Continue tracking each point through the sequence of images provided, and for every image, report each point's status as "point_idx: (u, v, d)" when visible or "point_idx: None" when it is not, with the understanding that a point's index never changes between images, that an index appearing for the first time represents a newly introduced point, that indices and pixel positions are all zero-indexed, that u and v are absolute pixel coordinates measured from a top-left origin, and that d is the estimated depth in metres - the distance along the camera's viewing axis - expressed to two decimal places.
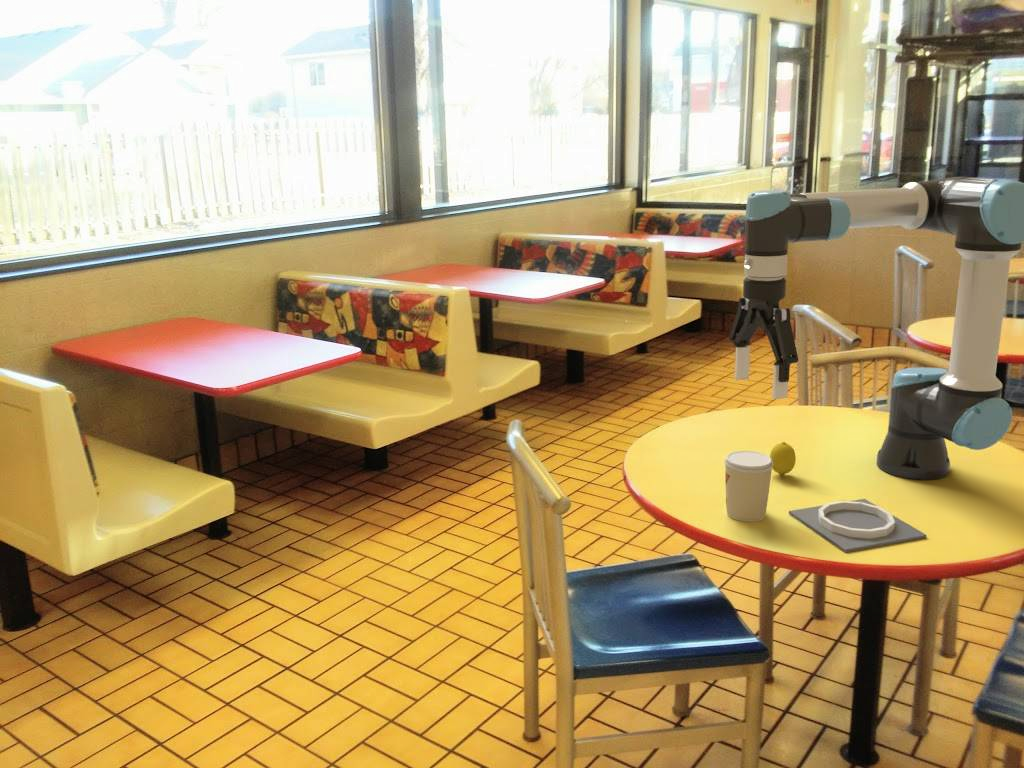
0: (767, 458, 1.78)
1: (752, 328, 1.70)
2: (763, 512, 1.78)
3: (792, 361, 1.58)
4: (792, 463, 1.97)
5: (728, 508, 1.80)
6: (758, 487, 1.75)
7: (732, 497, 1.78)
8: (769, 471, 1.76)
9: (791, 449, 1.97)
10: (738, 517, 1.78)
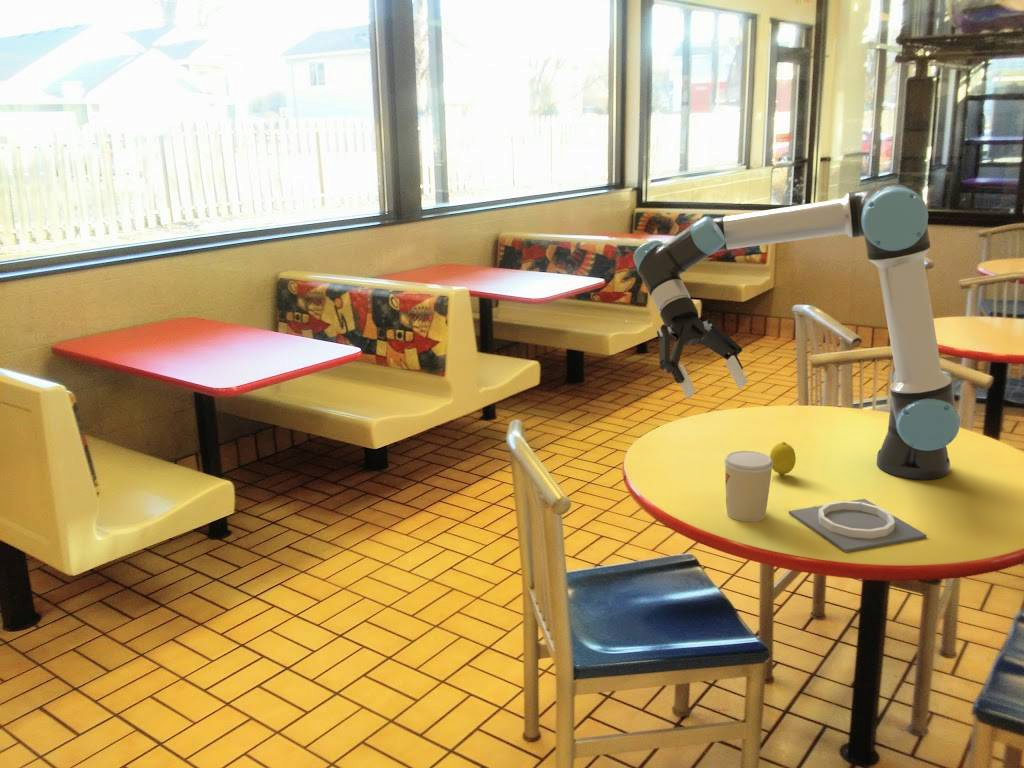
0: (767, 458, 1.78)
1: (710, 343, 1.89)
2: (763, 512, 1.78)
3: (663, 365, 1.82)
4: (792, 463, 1.97)
5: (728, 508, 1.80)
6: (758, 487, 1.75)
7: (732, 497, 1.78)
8: (769, 471, 1.76)
9: (791, 449, 1.97)
10: (738, 517, 1.78)
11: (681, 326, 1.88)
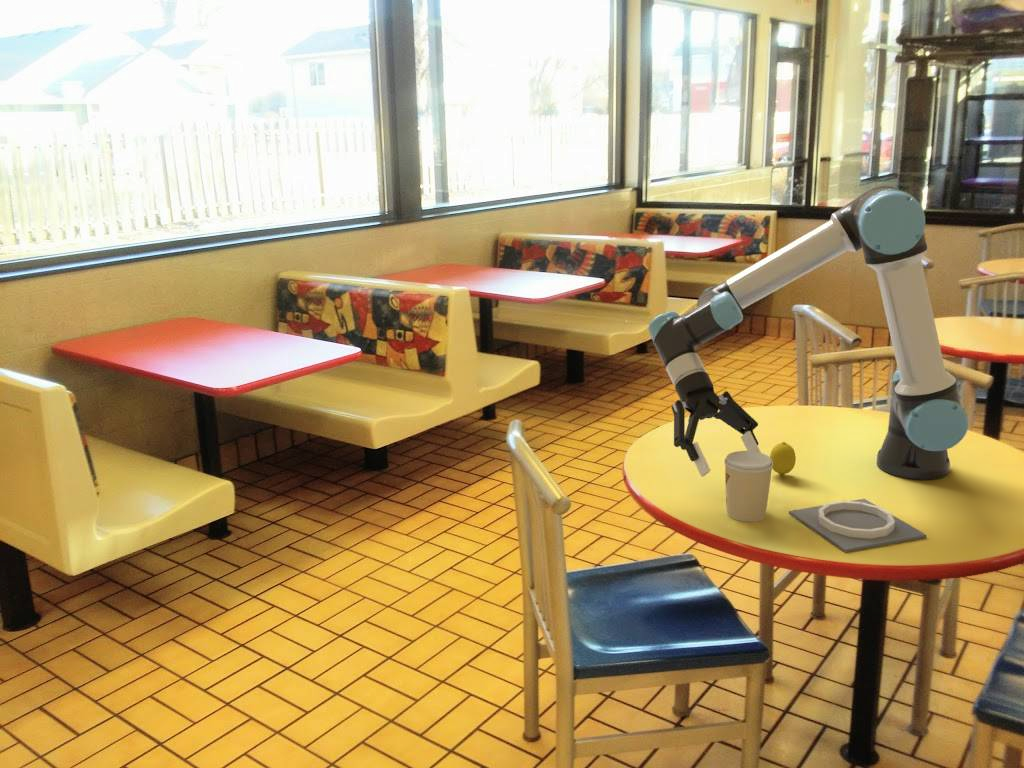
0: (767, 458, 1.78)
1: (725, 418, 1.87)
2: (763, 512, 1.78)
3: (677, 442, 1.80)
4: (792, 463, 1.97)
5: (728, 508, 1.80)
6: (758, 487, 1.75)
7: (732, 497, 1.78)
8: (769, 471, 1.76)
9: (791, 449, 1.97)
10: (738, 517, 1.78)
11: (696, 401, 1.86)
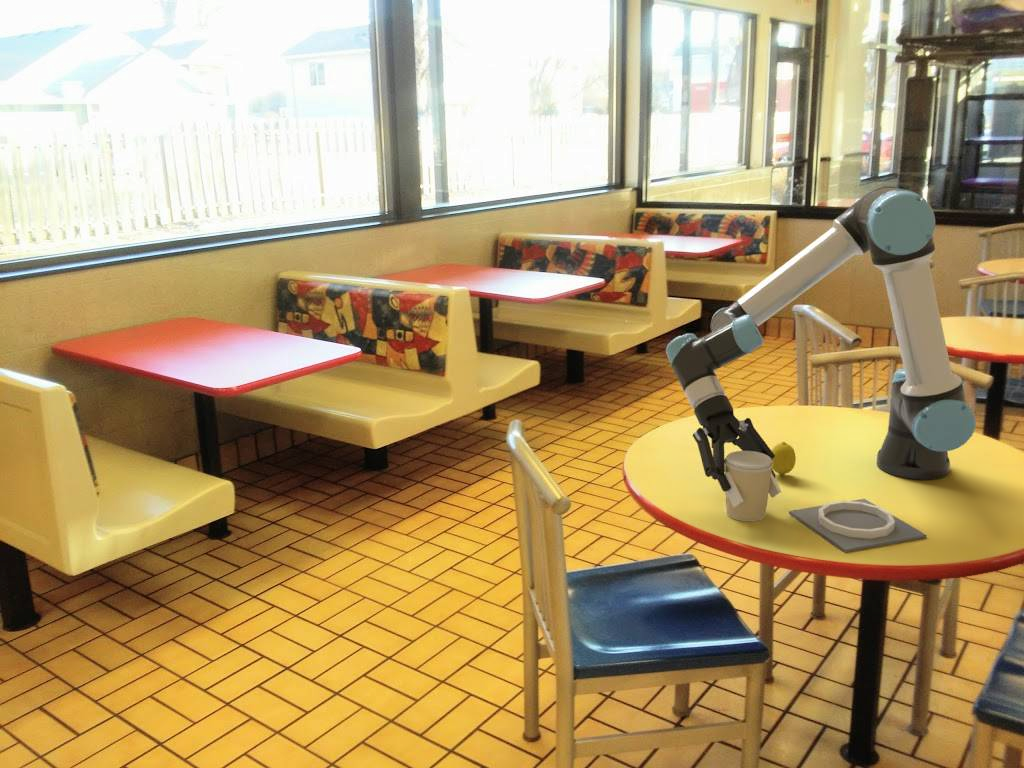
0: (767, 458, 1.78)
1: (743, 445, 1.83)
2: (763, 512, 1.78)
3: (709, 472, 1.77)
4: (792, 463, 1.97)
5: (728, 508, 1.80)
6: (758, 487, 1.75)
7: None
8: (769, 471, 1.76)
9: (791, 449, 1.97)
10: (738, 517, 1.78)
11: (716, 424, 1.83)
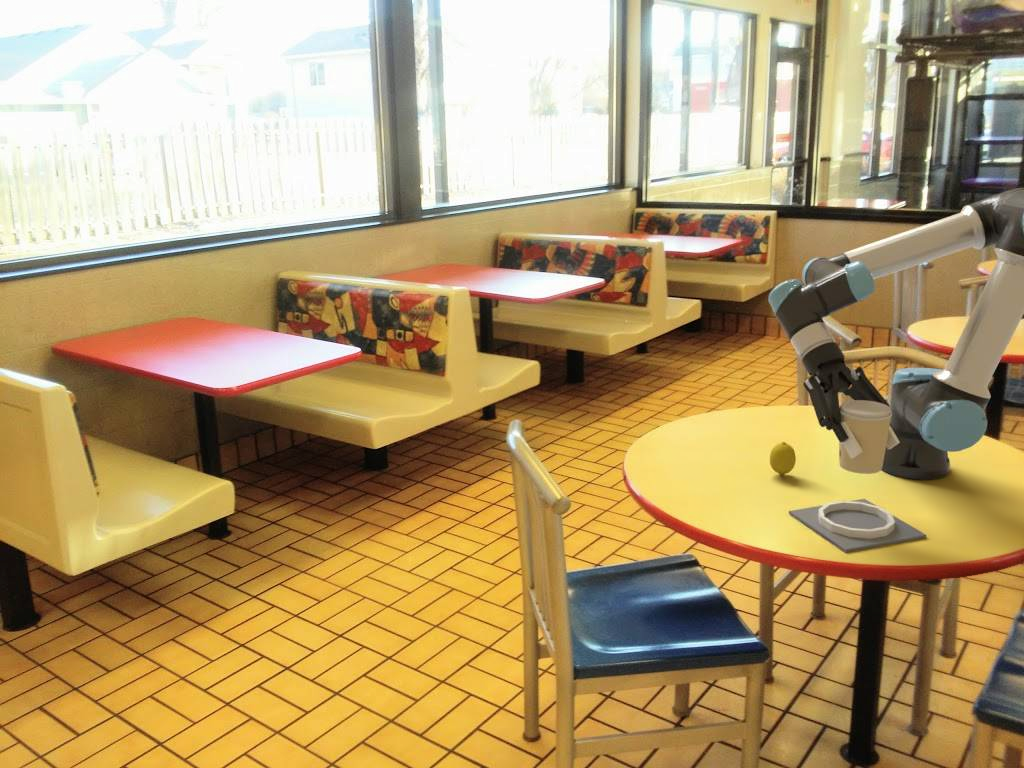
0: (885, 407, 1.68)
1: (856, 395, 1.73)
2: (881, 464, 1.68)
3: (824, 422, 1.67)
4: (792, 463, 1.97)
5: (842, 460, 1.70)
6: (878, 436, 1.65)
7: None
8: (889, 420, 1.66)
9: (791, 449, 1.97)
10: (854, 469, 1.68)
11: (827, 373, 1.73)
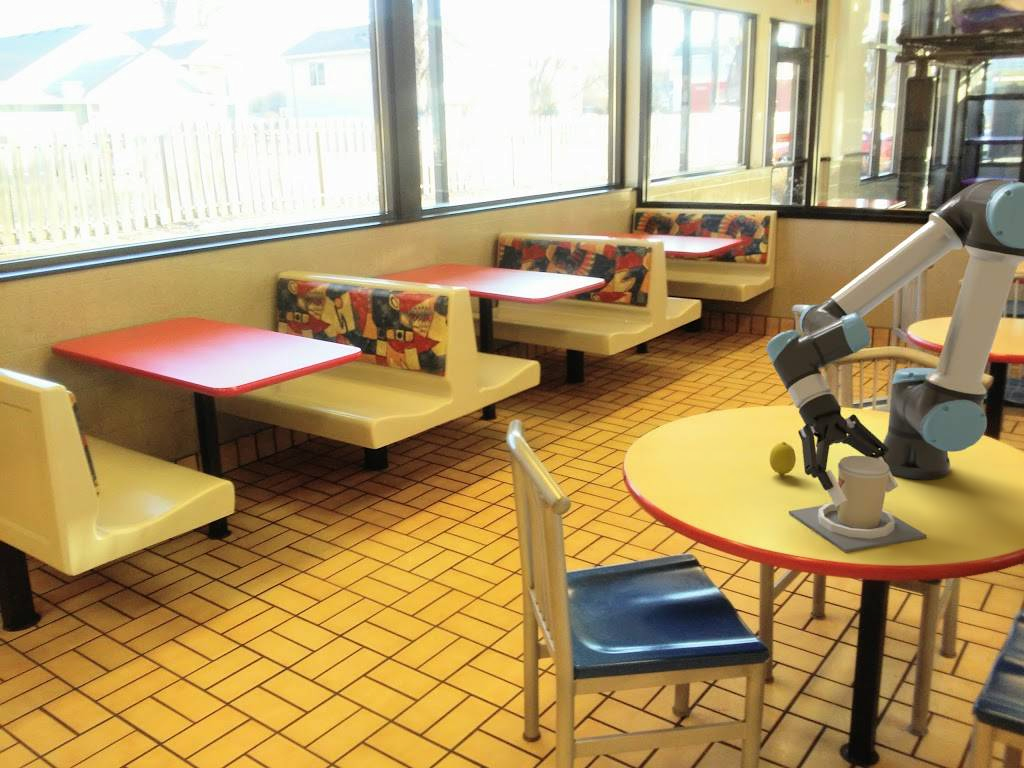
0: (883, 463, 1.72)
1: (855, 443, 1.77)
2: (878, 519, 1.72)
3: (809, 470, 1.70)
4: (792, 463, 1.97)
5: (841, 515, 1.74)
6: (875, 493, 1.69)
7: (846, 504, 1.72)
8: (886, 477, 1.70)
9: (791, 449, 1.97)
10: (852, 524, 1.72)
11: (824, 425, 1.76)
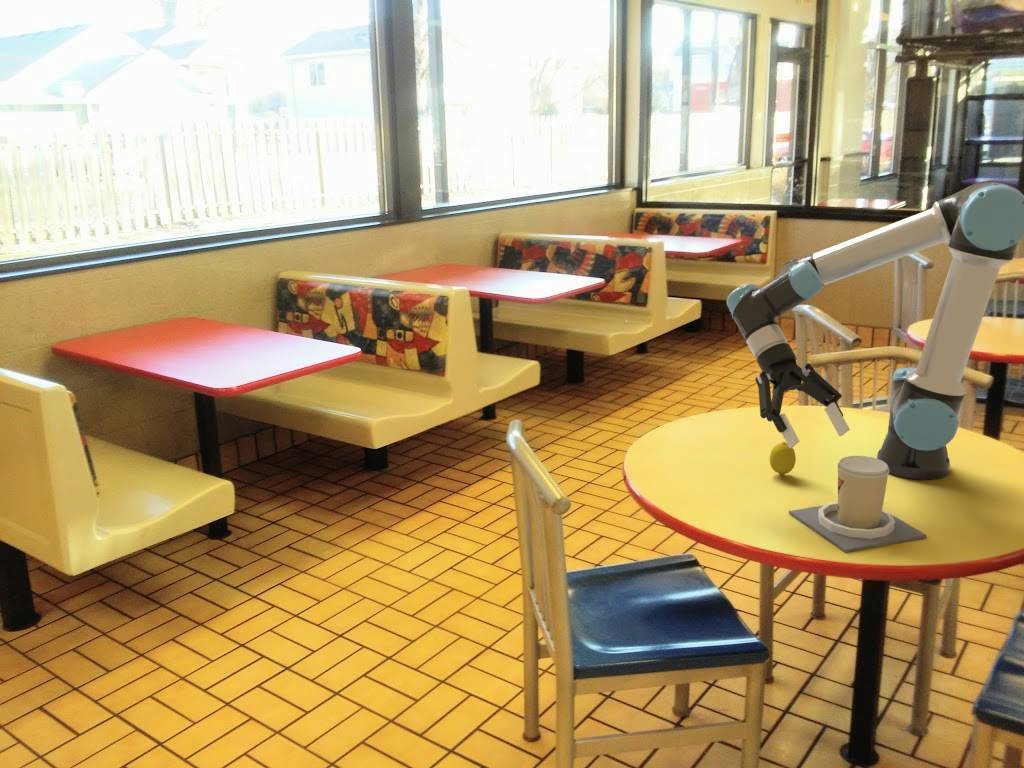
0: (883, 463, 1.72)
1: (809, 389, 1.86)
2: (878, 519, 1.72)
3: (764, 414, 1.79)
4: (792, 463, 1.97)
5: (841, 515, 1.74)
6: (875, 493, 1.69)
7: (846, 504, 1.72)
8: (886, 477, 1.70)
9: (791, 449, 1.97)
10: (852, 524, 1.72)
11: (780, 373, 1.84)
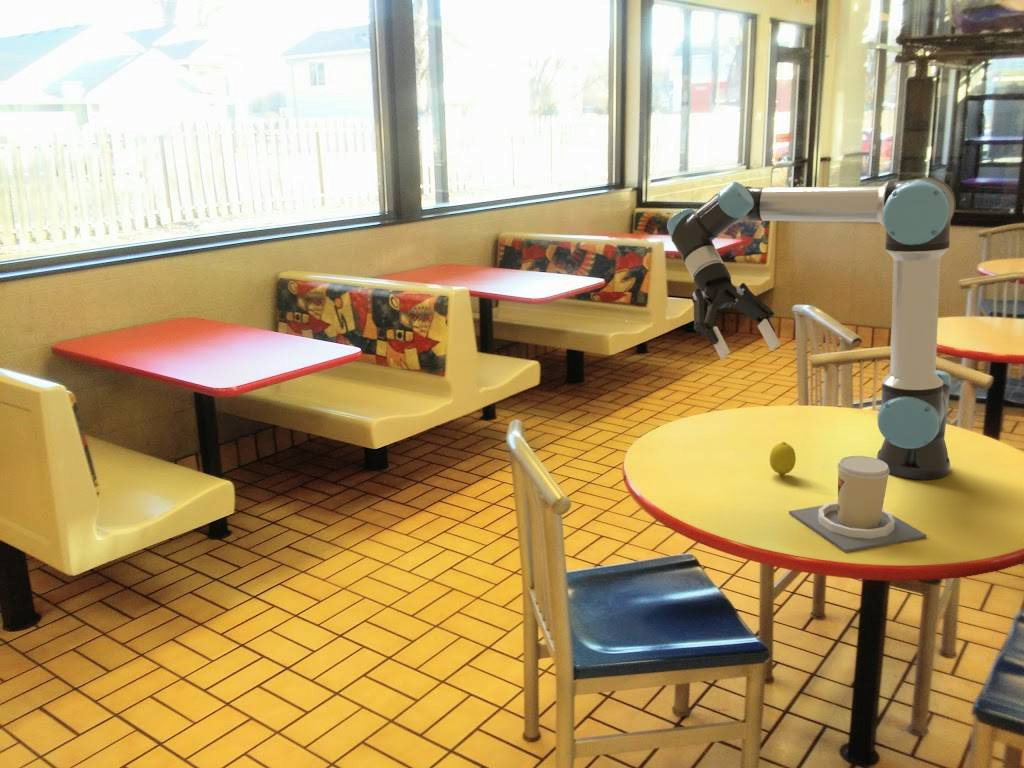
0: (883, 464, 1.72)
1: (743, 307, 1.95)
2: (878, 519, 1.72)
3: (697, 327, 1.88)
4: (792, 463, 1.97)
5: (841, 515, 1.74)
6: (875, 493, 1.69)
7: (846, 504, 1.72)
8: (886, 477, 1.70)
9: (791, 449, 1.97)
10: (852, 524, 1.72)
11: (715, 290, 1.93)
